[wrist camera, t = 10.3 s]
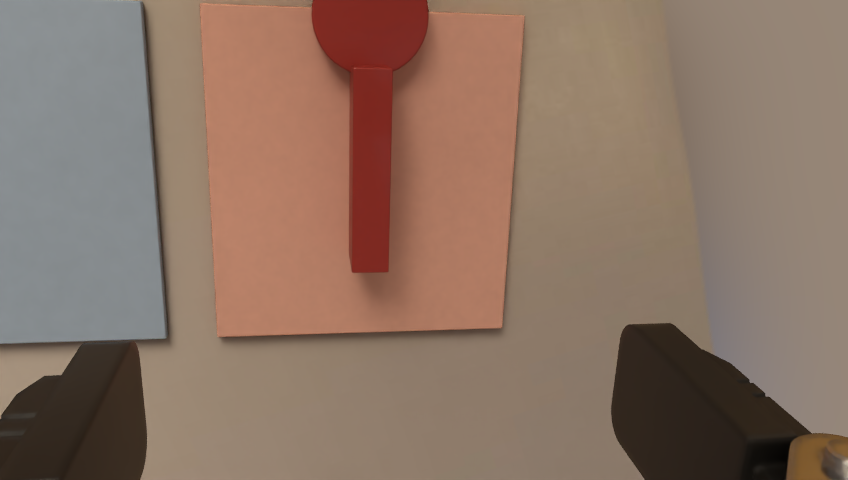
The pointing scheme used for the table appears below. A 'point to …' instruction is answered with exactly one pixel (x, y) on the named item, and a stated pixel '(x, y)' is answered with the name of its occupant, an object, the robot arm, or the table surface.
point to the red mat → (329, 176)
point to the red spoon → (370, 106)
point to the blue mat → (77, 175)
